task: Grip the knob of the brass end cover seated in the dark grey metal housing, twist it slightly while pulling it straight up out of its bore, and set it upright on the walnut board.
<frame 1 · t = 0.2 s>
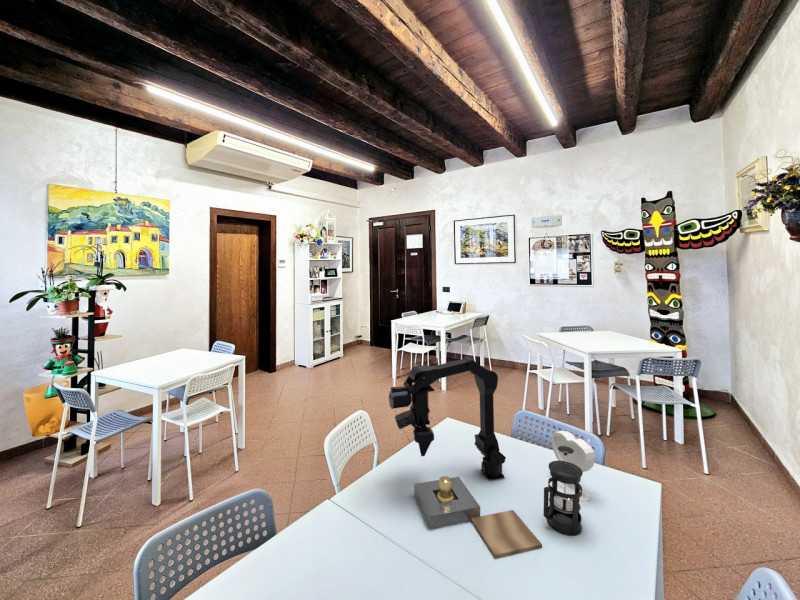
hand: (420, 449, 117), 14 cm above the table, tool pointing down, fingers open, 9 cm apart
end cover: (445, 493, 109), in the housing
french press: (562, 524, 101), on the table
board: (504, 533, 98), on the table
housing: (445, 506, 109), on the table
heart sculpture: (570, 488, 118), on the table
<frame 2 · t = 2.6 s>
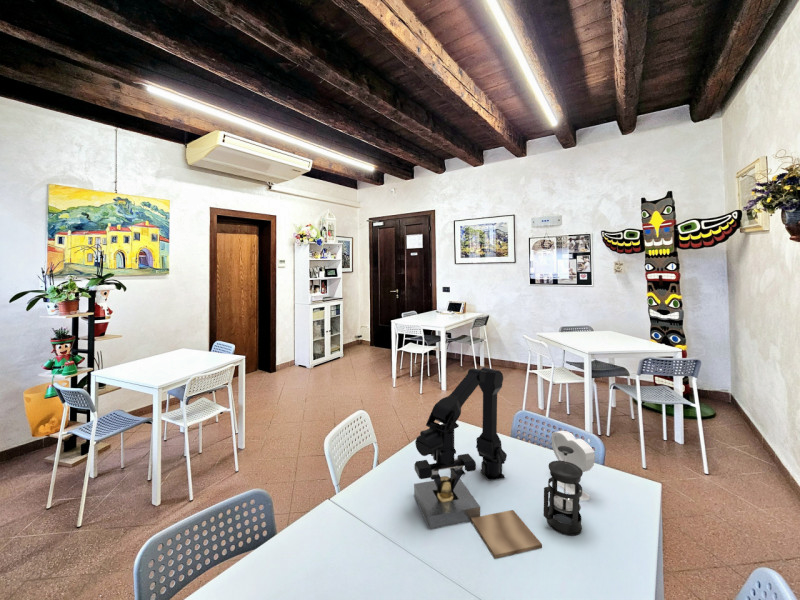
hand: (445, 491, 109), 5 cm above the table, tool pointing down, fingers closed on end cover, 4 cm apart
end cover: (445, 493, 109), in the housing, touching gripper
everything else where it was.
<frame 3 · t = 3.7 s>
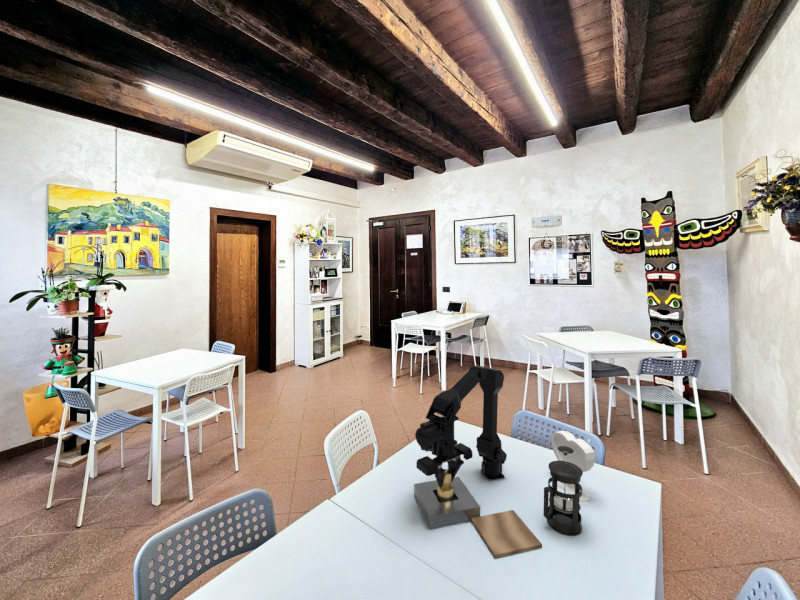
hand: (445, 484, 109), 7 cm above the table, tool pointing down, fingers closed on end cover, 4 cm apart
end cover: (445, 486, 109), point 7 cm above the table, touching gripper
everything else where it was.
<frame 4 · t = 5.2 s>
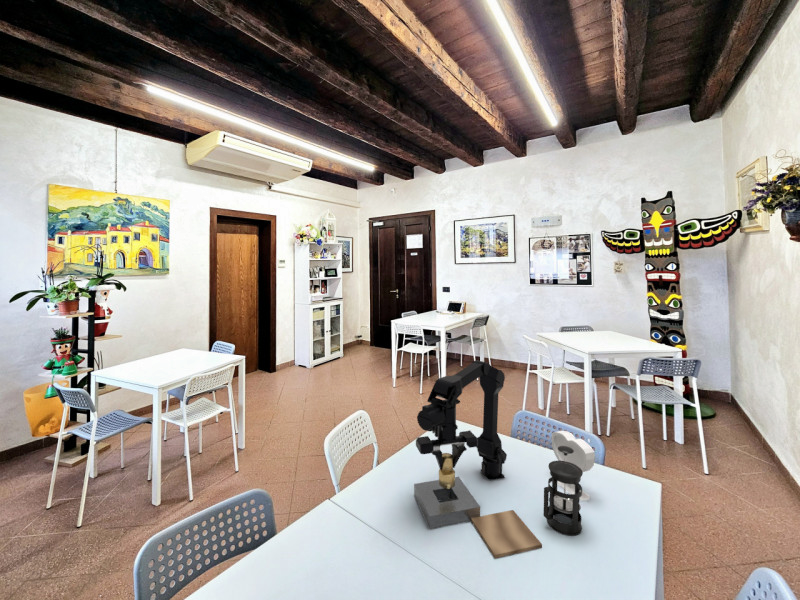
hand: (446, 468, 108), 13 cm above the table, tool pointing down, fingers closed on end cover, 4 cm apart
end cover: (446, 469, 108), point 12 cm above the table, touching gripper
everything else where it was.
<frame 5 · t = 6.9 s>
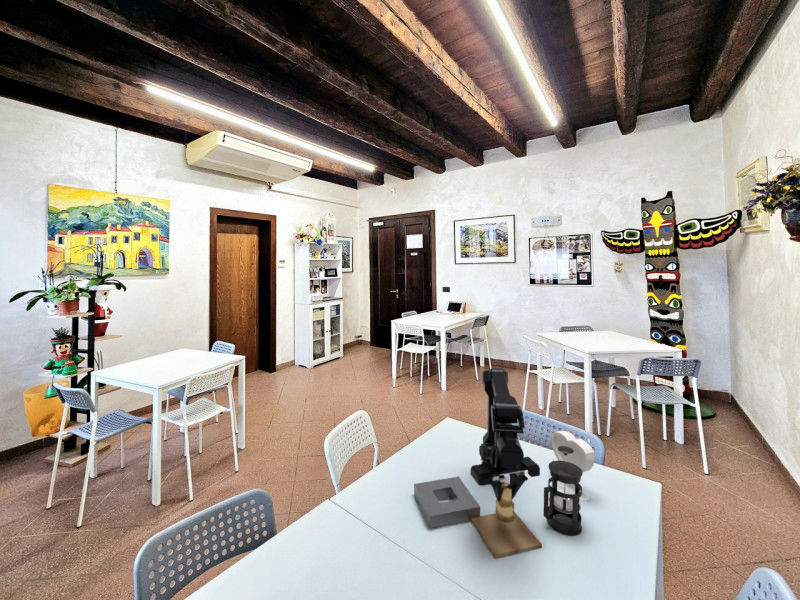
hand: (504, 499, 97), 10 cm above the table, tool pointing down, fingers closed on end cover, 4 cm apart
end cover: (504, 501, 97), point 10 cm above the table, touching gripper
everything else where it was.
when the fingers open (7 cm above the table, at t = 8.1 s): end cover drops 1 cm, resting on board.
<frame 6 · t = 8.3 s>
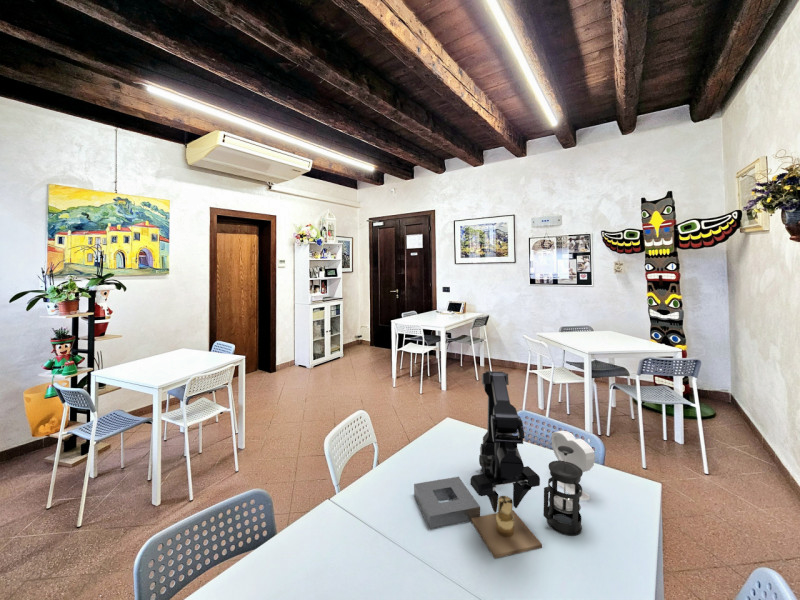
hand: (504, 509, 97), 7 cm above the table, tool pointing down, fingers open, 6 cm apart
end cover: (505, 515, 97), on the board, point 6 cm above the table
everything else where it was.
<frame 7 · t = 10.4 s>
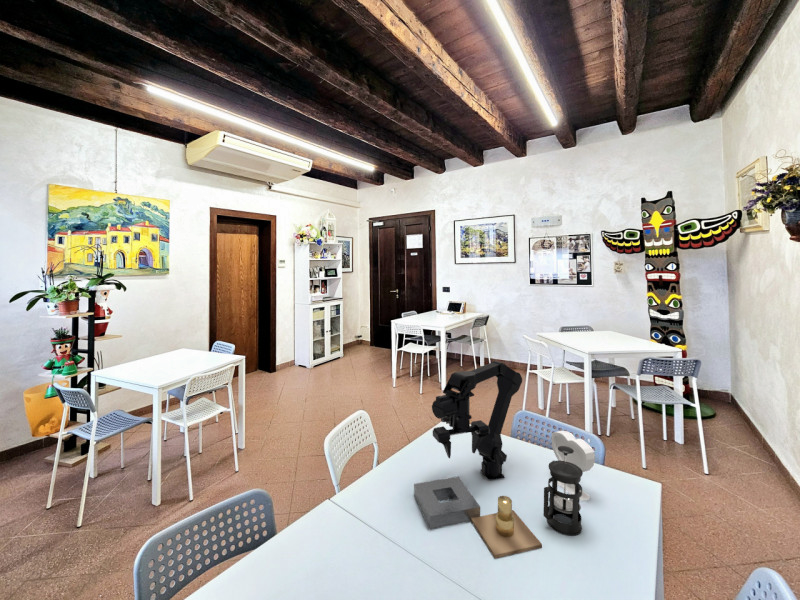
hand: (461, 455, 117), 12 cm above the table, tool pointing down, fingers open, 9 cm apart
nothing on the table moved.
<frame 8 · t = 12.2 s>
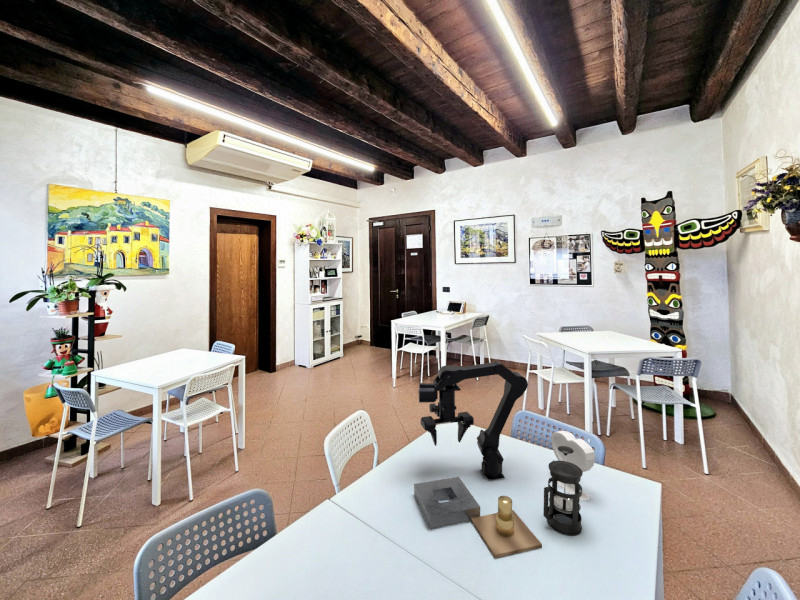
hand: (447, 443, 125), 12 cm above the table, tool pointing down, fingers open, 9 cm apart
nothing on the table moved.
at the end: end cover inside the target area on the board (0.0 cm from its centre), point 5.5 cm above the board's base; end cover tilted 0°; the gripper is holding nothing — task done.
